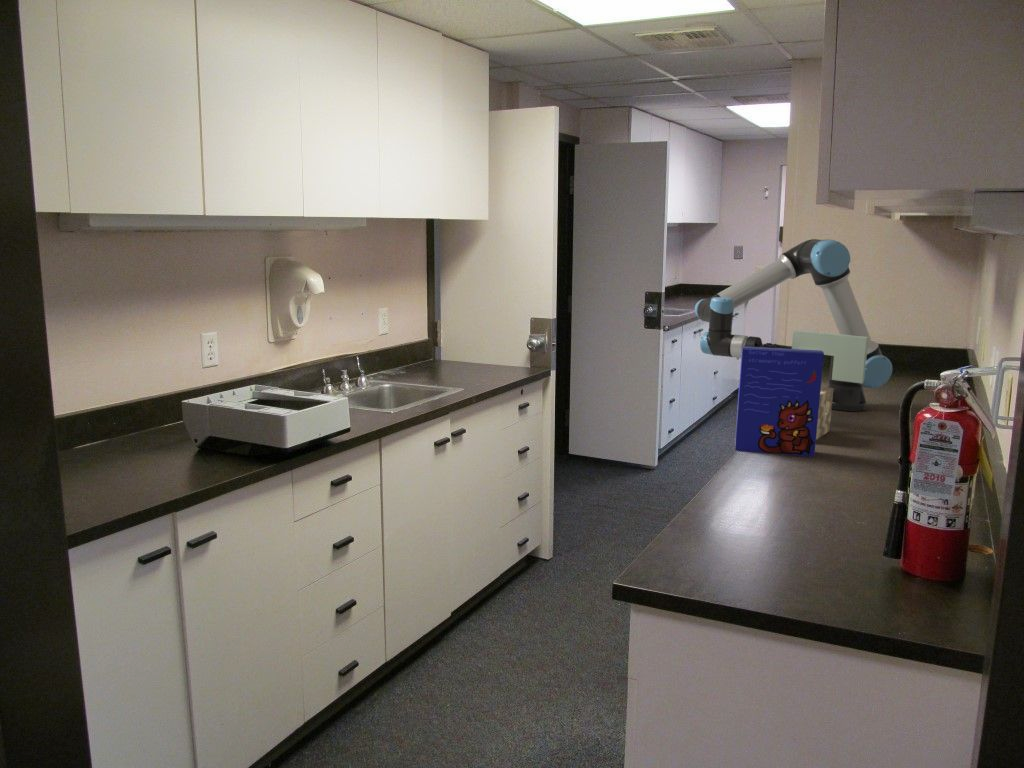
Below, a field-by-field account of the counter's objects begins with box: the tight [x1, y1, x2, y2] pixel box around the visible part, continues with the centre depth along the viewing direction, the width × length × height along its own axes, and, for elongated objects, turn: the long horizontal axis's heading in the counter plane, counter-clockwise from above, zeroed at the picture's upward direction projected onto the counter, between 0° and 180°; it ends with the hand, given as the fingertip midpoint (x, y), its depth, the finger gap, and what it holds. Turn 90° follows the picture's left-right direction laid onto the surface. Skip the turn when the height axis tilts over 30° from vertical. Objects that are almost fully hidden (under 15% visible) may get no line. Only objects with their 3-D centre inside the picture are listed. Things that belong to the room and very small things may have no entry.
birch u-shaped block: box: [816, 386, 833, 441], centre depth 255 cm, size 20×2×14 cm, turn 144°
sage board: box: [791, 329, 869, 383], centre depth 255 cm, size 22×2×14 cm, turn 54°
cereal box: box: [734, 346, 825, 458], centre depth 236 cm, size 22×6×30 cm, turn 76°
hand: (820, 355), depth 257 cm, fingers closed on sage board, 2 cm apart
